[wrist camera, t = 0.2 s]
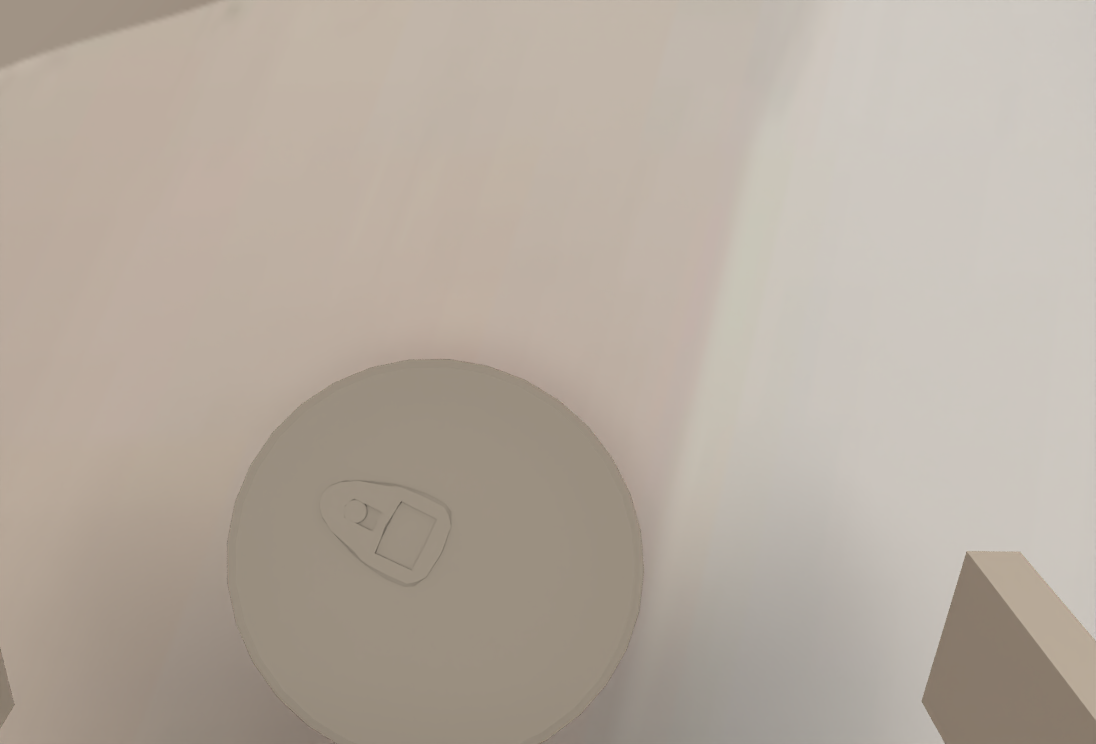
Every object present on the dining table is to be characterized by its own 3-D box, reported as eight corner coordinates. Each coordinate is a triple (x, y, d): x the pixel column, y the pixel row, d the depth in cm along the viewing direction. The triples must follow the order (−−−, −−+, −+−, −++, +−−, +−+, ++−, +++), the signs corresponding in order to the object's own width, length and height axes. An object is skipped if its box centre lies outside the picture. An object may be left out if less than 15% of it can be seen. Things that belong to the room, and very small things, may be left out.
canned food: (353, 399, 29) (271, 321, 18) (607, 446, 29) (678, 396, 18) (298, 653, 27) (174, 733, 17) (565, 700, 28) (614, 808, 17)
